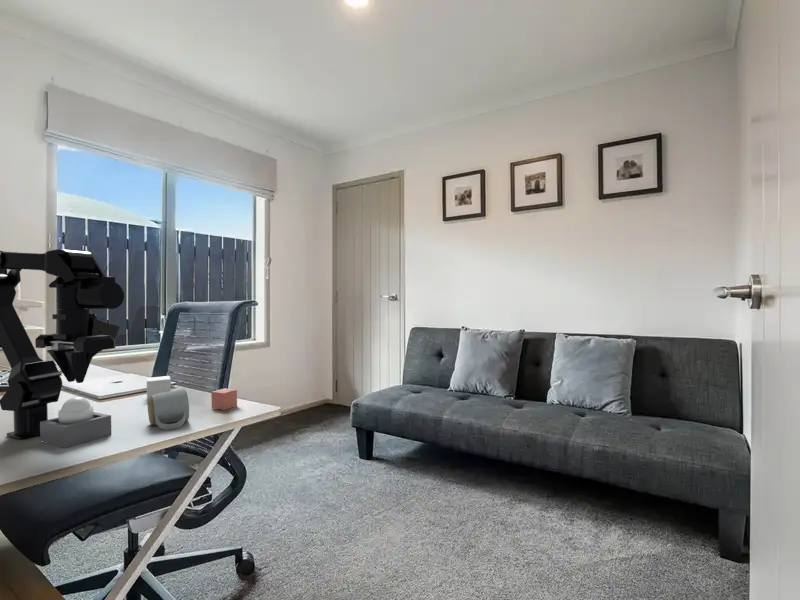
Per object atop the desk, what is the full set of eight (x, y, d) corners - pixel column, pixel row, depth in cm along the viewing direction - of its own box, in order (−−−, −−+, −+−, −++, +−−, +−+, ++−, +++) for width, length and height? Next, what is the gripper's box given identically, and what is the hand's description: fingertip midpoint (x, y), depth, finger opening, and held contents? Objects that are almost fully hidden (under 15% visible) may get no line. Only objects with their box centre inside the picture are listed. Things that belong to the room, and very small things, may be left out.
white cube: (146, 398, 128) (146, 377, 128) (169, 395, 131) (169, 375, 131) (147, 402, 122) (147, 381, 122) (171, 399, 126) (170, 378, 126)
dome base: (40, 441, 90) (40, 421, 90) (87, 429, 98) (86, 410, 98) (64, 448, 86) (64, 427, 86) (111, 434, 94) (111, 415, 94)
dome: (52, 422, 91) (51, 399, 90) (83, 415, 96) (83, 392, 96) (68, 426, 88) (68, 401, 88) (99, 418, 93) (99, 395, 93)
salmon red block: (211, 408, 115) (211, 391, 115) (225, 404, 119) (224, 387, 119) (223, 410, 113) (223, 392, 113) (237, 406, 117) (236, 389, 117)
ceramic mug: (146, 422, 103) (146, 390, 103) (184, 415, 108) (183, 385, 108) (153, 434, 95) (152, 399, 94) (193, 427, 100) (193, 394, 99)
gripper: (139, 308, 95) (140, 378, 95) (89, 307, 103) (90, 372, 103) (84, 310, 85) (85, 388, 85) (33, 309, 93) (35, 381, 93)
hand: (75, 382), depth 92 cm, fingers open, 3 cm apart
